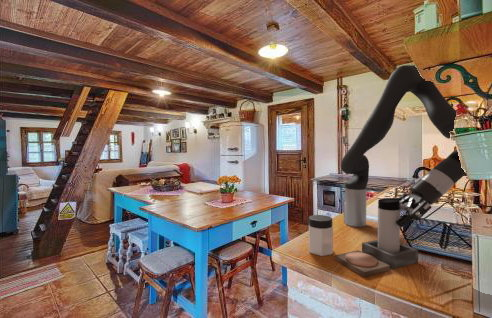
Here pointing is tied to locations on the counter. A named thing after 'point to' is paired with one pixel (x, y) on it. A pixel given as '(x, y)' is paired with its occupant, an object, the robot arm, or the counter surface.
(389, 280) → the counter surface
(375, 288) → the counter surface
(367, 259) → the mug dock
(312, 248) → the jar
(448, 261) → the counter surface
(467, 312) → the counter surface
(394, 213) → the travel mug
